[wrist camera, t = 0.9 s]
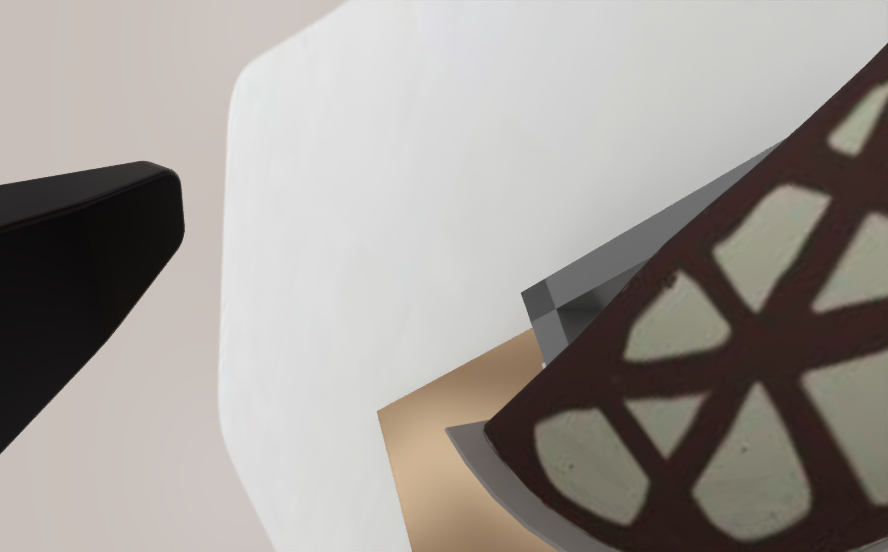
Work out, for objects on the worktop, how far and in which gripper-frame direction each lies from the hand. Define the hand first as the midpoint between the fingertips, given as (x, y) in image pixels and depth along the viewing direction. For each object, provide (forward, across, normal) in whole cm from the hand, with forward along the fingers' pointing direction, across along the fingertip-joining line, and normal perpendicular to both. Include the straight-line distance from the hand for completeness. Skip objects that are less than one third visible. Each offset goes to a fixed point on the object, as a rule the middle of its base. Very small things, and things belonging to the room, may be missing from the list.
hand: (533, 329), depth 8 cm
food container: (+10, -8, +6) cm, 15 cm away
